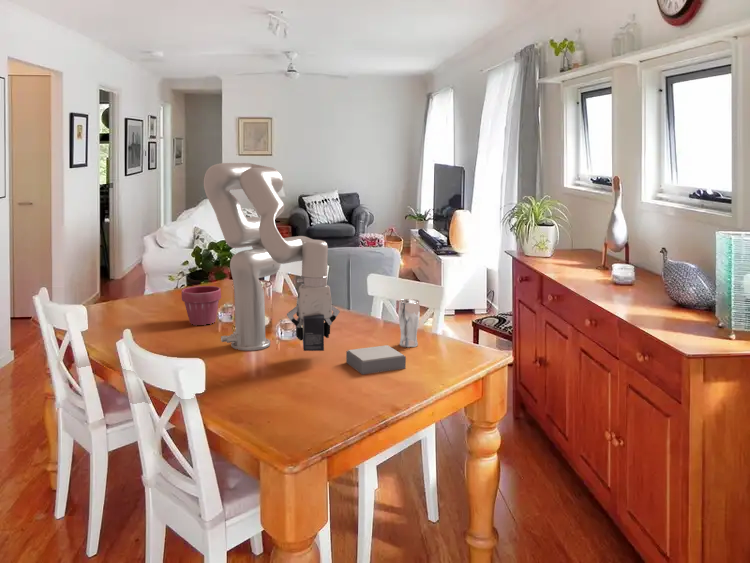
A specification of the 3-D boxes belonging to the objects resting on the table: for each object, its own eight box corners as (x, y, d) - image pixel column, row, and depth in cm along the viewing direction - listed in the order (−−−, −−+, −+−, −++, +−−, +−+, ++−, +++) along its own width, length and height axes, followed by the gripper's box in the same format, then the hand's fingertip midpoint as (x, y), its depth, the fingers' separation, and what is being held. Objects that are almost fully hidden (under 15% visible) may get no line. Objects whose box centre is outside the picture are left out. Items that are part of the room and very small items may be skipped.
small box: (302, 340, 207) (302, 307, 205) (322, 340, 208) (323, 307, 206) (302, 351, 197) (303, 317, 195) (324, 351, 198) (325, 317, 195)
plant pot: (186, 318, 253) (184, 285, 250) (224, 317, 254) (222, 285, 252) (179, 328, 239) (178, 293, 236) (219, 327, 240) (218, 292, 238)
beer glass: (421, 343, 222) (422, 299, 219) (415, 349, 216) (416, 304, 213) (401, 341, 224) (402, 298, 222) (395, 346, 218) (396, 302, 215)
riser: (362, 374, 191) (362, 361, 190) (346, 362, 201) (346, 349, 201) (405, 368, 196) (405, 355, 196) (387, 356, 207) (388, 344, 206)
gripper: (290, 285, 191) (289, 344, 195) (346, 282, 198) (344, 339, 202) (282, 280, 198) (281, 336, 201) (336, 277, 205) (335, 332, 209)
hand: (313, 337), depth 202 cm, fingers closed on small box, 7 cm apart
